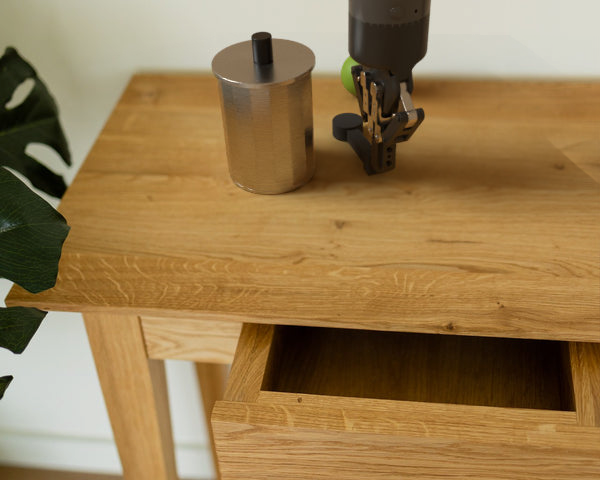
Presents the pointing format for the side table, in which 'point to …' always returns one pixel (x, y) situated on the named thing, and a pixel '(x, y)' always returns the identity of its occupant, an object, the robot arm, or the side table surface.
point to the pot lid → (263, 62)
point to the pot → (269, 136)
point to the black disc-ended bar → (353, 137)
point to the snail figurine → (348, 75)
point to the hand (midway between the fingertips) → (382, 168)
